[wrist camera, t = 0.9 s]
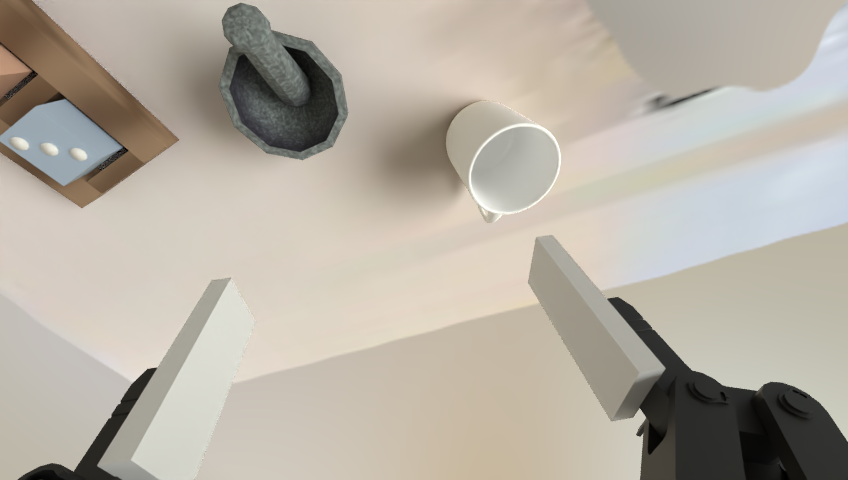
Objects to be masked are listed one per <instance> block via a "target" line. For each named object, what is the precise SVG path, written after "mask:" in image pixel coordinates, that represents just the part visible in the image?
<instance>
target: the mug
mask: <svg viewBox="0 0 848 480" xmlns="http://www.w3.org/2000/svg"><path fill="white" fill-rule="evenodd" d="M446 149H447V154H448V156H449V159H450V161H451V163H452V165H453V166H454V168H455V170H456V171H457V173H458V175H459V176H460V178H461V180H462V181H463V183H464V184H465V186H466V188H467V189H468V191H469V193H470V194H471V196H472V198H473V199H474V201H475V202H476V203H477V205H478V208H479V210H480V212H481V215H482V217H483V219H484V220H485V221H486V222H487V223H494V222H496V221H497V220H498V219H499V218H500V217H501V216H502V214H513V213H518V212H521V211H523V210H526V209H528V208H530V207H531V206H533V205H534V204H536V203H537V202H539V201H540V200H541V199H542V198H543V197H544V196H545V195H546V194H547V193H548V191H549V190H550V189H551V187H552V186H553V184H554V182H555V180H556V178H557V176H558V173H559V169H560V162H561V155H560V149H559V146H558V143H557V141H556V139H555V138H554V136H553V135H552V134H551V133H550V132H549V131H548V130H546V129H545V128H543V127H542V126H540V125H538V124H536V123H535V122H533V121H531V120H529V119H528V118H526V117H524V116H523V115H521V114H519V113H517V112H516V111H514V110H512V109H510V108H509V107H507V106H505V105H503V104H501V103H498V102H495V101H479V102H476V103H473V104H471V105H468V106H467V107H465V108H464V109H463V110H461V111H460V112H459V113H458V114H457V115H456V116H455V118H454V119H453V121H452V122H451V124H450V126H449V129H448V132H447V137H446ZM484 210H486V211H488V216H486V214H485V212H484Z"/></svg>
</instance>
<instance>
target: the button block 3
mask: <svg viewBox="0 0 848 480" xmlns="http://www.w3.org/2000/svg"><path fill="white" fill-rule="evenodd" d="M0 142H1V143H3V144H4V145H6V146H7V147H9V148H10V149H11V150H13V151H14V152H16V153H17V154H19V155H20V156H21V157H23V158H24V159H26V160H27V161H29V162H30V163H31V164H33V165H34V166H36V167H37V168H39V169H40V170H41V171H43V172H44V173H46V174H47V175H49V176H50V177H51V178H53V179H54V180H56V181H57V182H59V183H60V184H61V185H63V186H65V185H67V184H69V183H71V182H73V181H75V180H77V179H78V178H80V177H82V176H84V175H86V174H88V173H89V172H91V171H92V170H93V169H95V168H96V167H97V166H99V165H100V164H101V163H103V162H104V161H106V160H107V159H108V158H110V157H111V156H112V155H114V154H115V153H116V152H118V151H119V150H120V149H122V148H123V147H122V146H121V145H120V144H119V143H118V142H117V141H115V140H114V139H113V138H112V137H111V136H109V135H108V134H107V133H106V132H105V131H103V130H102V129H101V128H100V127H99V126H97V125H96V124H95V123H94V122H93V121H92V120H90V119H89V118H88V117H87V116H86V115H84V114H83V113H82V112H81V111H80V110H78V109H77V108H76V107H75V106H74V105H73V104H71V103H70V102H69V101H68V100H67V99H64V100H59V101H55V102H51V103H47V104H43V105H38V106H36V107H34V108H33V109H32V110H31V111H30V112H28V113H27V114H26V115H25V116H24V117H22V118H21V119H20V120H19V121H17V122H16V123H15V124H14V125H13V126H11V127H10V128H9V129H8V130H7V131H5V132H4V133H3V134H2V135H1V136H0Z"/></svg>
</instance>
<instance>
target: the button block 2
mask: <svg viewBox="0 0 848 480" xmlns="http://www.w3.org/2000/svg"><path fill="white" fill-rule="evenodd" d="M31 72H32V70H31V69H30V68H29V67H27V66H26V65H25V64H24V63H23V62H21V61H20V60H19V59H18V58H17V57H15V56H14V55H13V54H12V53H11V52H10V51H8V50H7V49H6V48H5V47H4V46H2V45H1V44H0V99H1V98H2V97H3V96H4V95H6V94H7V93H8V92H9V91H10V90H11V89H13V88H14V87H15V86H16V85H17V84H18V83H20V82H21V81H22V80H23V79H24V78H25V77H26V76H28V75H29V74H30V73H31Z"/></svg>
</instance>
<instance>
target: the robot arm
mask: <svg viewBox="0 0 848 480" xmlns="http://www.w3.org/2000/svg"><path fill="white" fill-rule="evenodd" d="M528 283H529V285H530V287H531V289H532V290H533V292H534V294H535V295H536V297H537V299H538V300H539V302H540V304H541V305H542V307H543V309H544V310H545V312H546V313H547V315H548V317H549V319H550V320H551V322H552V323H553V325H554V327H555V328H556V330H557V332H558V333H559V335H560V336H561V339H562V340H563V342H564V343H565V345H566V347H567V349H568V350H569V352H570V353H571V355H572V357H573V358H574V360H575V362H576V364H577V365H578V367H579V369H580V370H581V372H582V374H583V375H584V377H585V378H586V380H587V382H588V384H589V385H590V387H591V389H592V390H593V392H594V394H595V395H596V397H597V399H598V400H599V402H600V404H601V405H602V407H603V408H604V410H605V412H606V414H607V415H608V417H609V419H610V420H611V421H616V420H621V419H627V418H632V417H634V416H635V414H636V412H637V411H638V410H639V408H640V409H641V410H642V412H643V413H644V414H645V416H646V419H645V421H644V422H643V424H642V425H641V426H640V428H639V429H638V432H637V434H636V435H637V436H641V435H642V434H643V432H644V434H643V448H642V463H641V476H640V480H848V442H847V440H846V439H845V437H844V436H843V434H842V433H841V431H840V430H839V428H838V427H837V425H836V424H835V422H834V421H833V419H832V418H831V416H830V415H829V413H828V412H827V411H826V410H825V409H824V408H823V406H822V405H821V404H820V403H819V402H817V401H816V400H815V399H814V398H812V397H811V396H810V395H808V394H807V393H805V392H803V391H801V390H799V389H797V388H795V387H793V386H790V385H787V384H784V383H779V382H770V383H767V384H764V385H763V386H762V387H761V388H760V389H759V390H758V391H754V390H747V389H740V388H733V387H726V386H723V385H721V384H720V383H718V382H717V381H716V380H715V379H713V378H711V377H709V376H707V375H705V374H703V373H700V372H696V371H692V370H691V369H690V368H689V367H688V366H687V365H686V364H685V363H684V362H683V361H682V360H681V359H680V358H679V357H678V355H677V354H676V353H675V352H674V351H673V350H672V349H671V348H670V347H669V346H668V345H667V343H666V342H665V341H664V340H663V339H662V338H661V337H660V336H659V335H658V334H657V333H656V331H655V330H652V327H651V326H650V325H649V324H648V323H647V322H646V321H645V320H643V318H642V316H641V315H640V314H639V313H638V312H637V311H636V310H635V309H634V307H633V306H631V305H630V304H628V303H626V302H625V301H623V300H622V299H620V298H618V297H615V298H609V299H606V297H605V296H604V295H603V294H602V293H601V292H600V290H599V289H598V288H597V287H596V286H595V284H594V283H593V282H592V281H591V280H590V279H589V277H588V276H587V275H586V274H585V273H584V272H583V270H582V269H581V268H580V267H579V266H578V264H577V263H576V262H575V261H574V260H573V259H572V257H571V256H570V255H569V254H568V253H567V251H566V250H565V249H564V248H563V247H562V246H561V244H560V243H559V242H558V241H557V240H556V239H555V237H554V236H553V235H549V236H541V237H536V240H535V246H534V252H533V257H532V263H531V269H530V274H529V280H528ZM255 323H256V321H255V320H254V318H253V316H252V314H251V313H250V311H249V309H248V307H247V305H246V304H245V302H244V300H243V298H242V296H241V295H240V293H239V291H238V289H237V288H236V286H235V284H234V282H233V280H232V279H231V278H226V279H218V280H212V281H211V282H210V284H209V286H208V287H207V289H206V291H205V292H204V294H203V295H202V297H201V299H200V300H199V302H198V303H197V305H196V307H195V308H194V310H193V311H192V313H191V315H190V316H189V318H188V320H187V321H186V323H185V324H184V326H183V328H182V329H181V331H180V332H179V334H178V336H177V337H176V339H175V341H174V342H173V344H172V345H171V347H170V349H169V350H168V352H167V353H166V355H165V357H164V358H163V360H162V362H161V363H160V365H159V366H158V367H157V368H151V369H147V370H146V371H145V372H144V373H143V374H142V375H141V376H140V377H139V378H138V379H137V380H136V381H135V382H134V383H132V384H131V386H130V388H129V389H128V391H127V392H126V394H125V395H124V397H123V398H122V400H121V404H119V405H118V406H117V407H116V409H115V410H114V412H113V413H112V417H111V418H110V419H108V421H107V422H106V424H105V425H104V427H103V428H102V430H101V431H100V433H99V434H98V436H97V437H96V439H95V441H94V442H93V444H92V445H91V446H90V448H89V449H88V451H87V452H86V454H85V456H84V457H83V458H82V460H81V461H80V463H79V464H78V466H77V467H76V469H75V470H74V472H73V471H71V470H69V469H67V468H66V467H64V466H62V465H59V464H53V463H51V464H47V465H44V466H40V467H38V468H36V469H34V470H32V471H30V472H28V473H26V474H25V475H23V476H22V477H21V478H19V479H18V480H195V478H196V475H197V473H198V470H199V467H200V465H201V462H202V460H203V456H204V455H205V452H206V449H207V447H208V444H209V441H210V439H211V436H212V434H213V431H214V429H215V426H216V423H217V421H218V418H219V415H220V413H221V411H222V408H223V405H224V403H225V400H226V398H227V395H228V392H229V390H230V387H231V385H232V382H233V380H234V377H235V374H236V372H237V369H238V367H239V364H240V362H241V359H242V356H243V354H244V351H245V349H246V346H247V343H248V341H249V338H250V336H251V333H252V330H253V328H254V325H255Z"/></svg>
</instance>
